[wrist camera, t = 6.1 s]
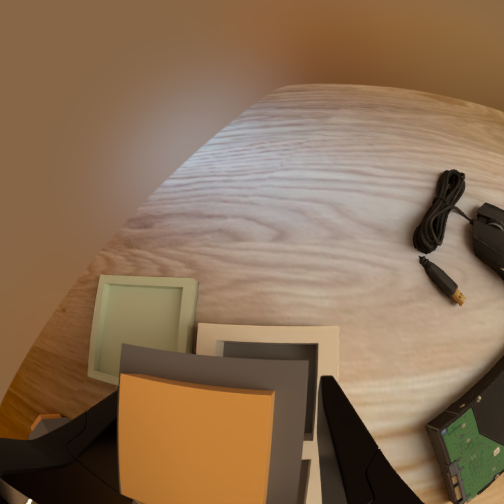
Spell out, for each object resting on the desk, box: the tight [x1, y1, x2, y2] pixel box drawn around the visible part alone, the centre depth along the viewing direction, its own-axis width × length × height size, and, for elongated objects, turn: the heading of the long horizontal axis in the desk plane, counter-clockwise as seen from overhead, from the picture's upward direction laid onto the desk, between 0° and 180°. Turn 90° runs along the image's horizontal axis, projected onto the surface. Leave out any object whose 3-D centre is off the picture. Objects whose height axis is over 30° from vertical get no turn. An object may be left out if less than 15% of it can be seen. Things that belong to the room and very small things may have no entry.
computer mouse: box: [413, 169, 504, 306], centre depth 16 cm, size 12×17×4 cm
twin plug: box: [28, 414, 137, 504], centre depth 14 cm, size 15×4×4 cm, turn 47°
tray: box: [88, 275, 199, 386], centre depth 20 cm, size 9×9×1 cm
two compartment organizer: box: [196, 323, 339, 504], centre depth 15 cm, size 16×9×2 cm, turn 177°
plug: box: [117, 343, 309, 504], centre depth 10 cm, size 4×4×15 cm
